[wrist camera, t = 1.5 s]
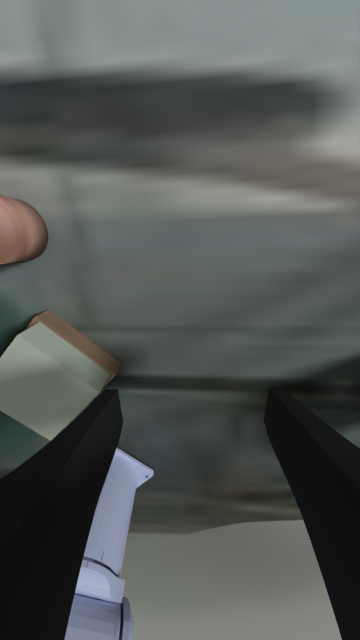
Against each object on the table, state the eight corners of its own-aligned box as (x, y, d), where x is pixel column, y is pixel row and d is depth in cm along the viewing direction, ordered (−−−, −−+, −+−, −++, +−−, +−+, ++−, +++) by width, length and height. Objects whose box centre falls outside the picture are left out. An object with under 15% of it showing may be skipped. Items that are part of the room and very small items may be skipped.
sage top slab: (65, 417, 21) (50, 440, 18) (-2, 374, 19) (-28, 394, 17) (109, 373, 19) (99, 392, 17) (39, 322, 17) (17, 335, 15)
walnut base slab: (78, 406, 23) (67, 425, 21) (10, 363, 22) (-11, 378, 19) (123, 360, 21) (116, 374, 19) (52, 307, 19) (34, 316, 17)
